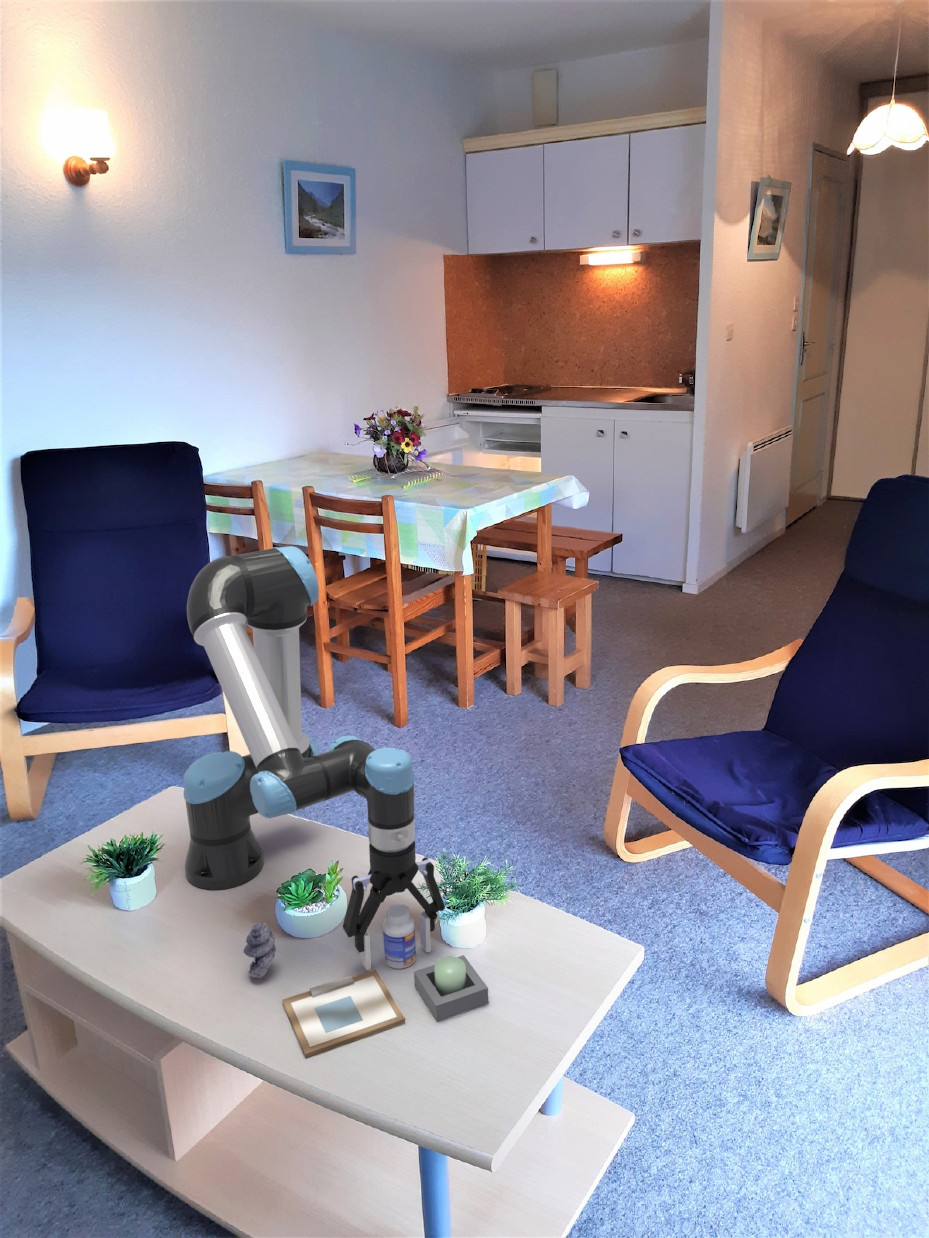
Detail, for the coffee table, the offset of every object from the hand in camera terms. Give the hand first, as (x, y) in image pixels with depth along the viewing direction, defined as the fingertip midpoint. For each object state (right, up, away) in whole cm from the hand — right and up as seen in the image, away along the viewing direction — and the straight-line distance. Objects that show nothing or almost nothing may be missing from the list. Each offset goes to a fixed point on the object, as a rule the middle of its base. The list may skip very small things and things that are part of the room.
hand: (396, 956), depth 162 cm
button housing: (+9, -3, -8) cm, 13 cm away
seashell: (-22, -2, -2) cm, 22 cm away
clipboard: (-8, -5, -11) cm, 15 cm away
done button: (+9, -2, -9) cm, 13 cm away
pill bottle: (+1, -1, +1) cm, 1 cm away
